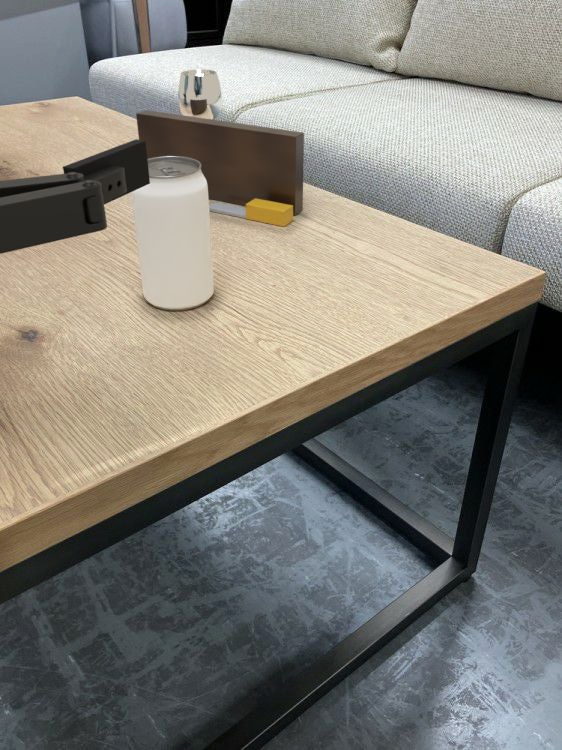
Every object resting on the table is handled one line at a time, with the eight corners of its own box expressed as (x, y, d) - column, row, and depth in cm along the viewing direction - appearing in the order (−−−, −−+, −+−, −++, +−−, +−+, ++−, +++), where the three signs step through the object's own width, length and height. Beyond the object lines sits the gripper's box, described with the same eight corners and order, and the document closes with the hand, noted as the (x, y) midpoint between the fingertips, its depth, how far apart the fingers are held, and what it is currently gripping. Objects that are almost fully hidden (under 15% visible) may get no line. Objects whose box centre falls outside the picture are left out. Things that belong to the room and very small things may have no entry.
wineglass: (233, 165, 97) (230, 72, 91) (201, 174, 94) (195, 79, 87) (206, 156, 101) (201, 66, 94) (175, 165, 97) (167, 72, 91)
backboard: (143, 185, 90) (135, 113, 85) (153, 181, 92) (145, 109, 87) (295, 215, 81) (296, 136, 76) (302, 210, 83) (304, 132, 78)
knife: (206, 210, 83) (205, 196, 82) (216, 205, 84) (215, 190, 83) (284, 226, 78) (284, 211, 77) (293, 220, 80) (293, 205, 79)
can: (194, 274, 68) (184, 150, 62) (227, 300, 64) (220, 169, 57) (132, 291, 65) (115, 162, 59) (162, 319, 61) (147, 183, 54)
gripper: (-366, 280, 39) (-50, 175, 54) (-59, 406, 29) (221, 233, 44) (-443, 142, 35) (-77, 71, 50) (-116, 234, 25) (214, 110, 40)
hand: (63, 147), depth 47 cm, fingers open, 13 cm apart
